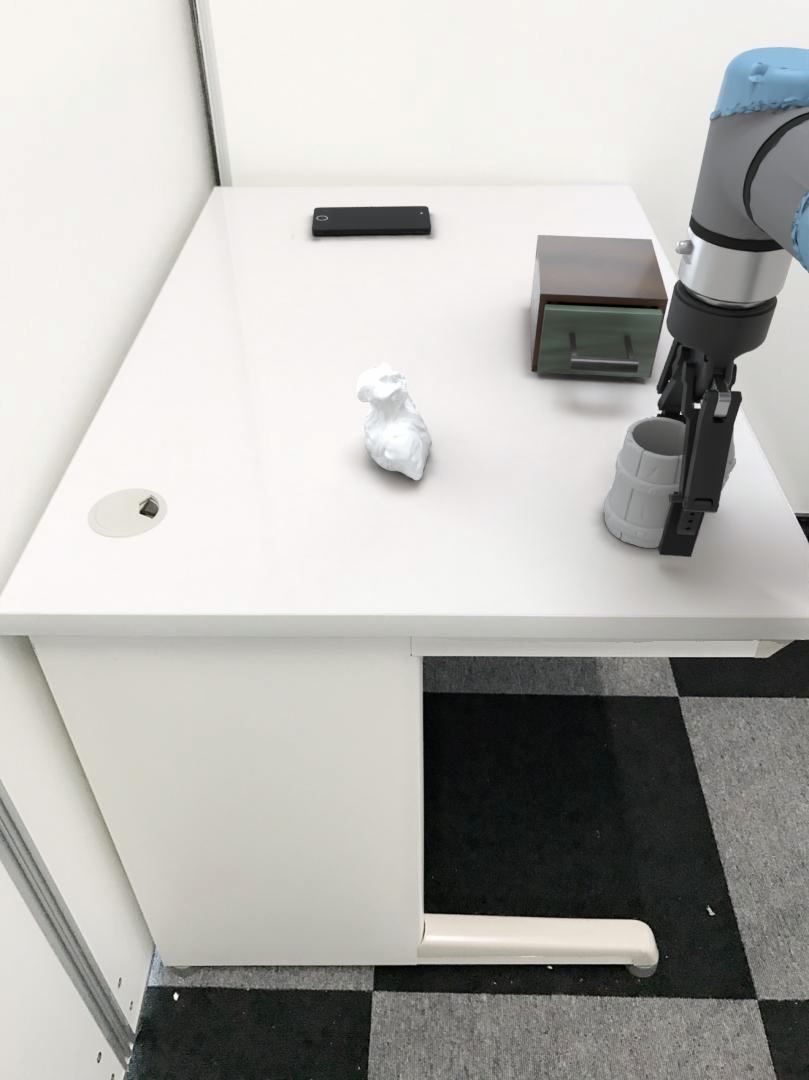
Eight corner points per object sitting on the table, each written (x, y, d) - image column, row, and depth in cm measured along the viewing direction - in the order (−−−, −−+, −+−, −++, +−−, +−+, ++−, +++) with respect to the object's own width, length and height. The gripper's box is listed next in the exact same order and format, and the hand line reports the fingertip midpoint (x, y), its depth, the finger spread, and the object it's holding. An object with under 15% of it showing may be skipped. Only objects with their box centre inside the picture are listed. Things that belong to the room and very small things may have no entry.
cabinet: (650, 377, 99) (668, 299, 92) (531, 371, 100) (540, 293, 93) (636, 312, 110) (651, 239, 104) (529, 308, 111) (537, 234, 105)
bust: (389, 440, 93) (321, 373, 87) (445, 401, 91) (379, 329, 84) (400, 511, 84) (325, 442, 78) (462, 470, 82) (389, 395, 75)
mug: (587, 505, 82) (607, 399, 74) (696, 483, 84) (727, 378, 76) (624, 558, 76) (650, 449, 68) (739, 533, 79) (778, 425, 71)
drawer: (655, 411, 92) (671, 346, 86) (538, 404, 93) (546, 340, 87) (635, 316, 107) (647, 256, 102) (535, 312, 108) (542, 252, 103)
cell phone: (314, 213, 134) (314, 207, 134) (428, 211, 135) (428, 205, 134) (311, 236, 128) (311, 229, 127) (431, 234, 128) (431, 228, 128)
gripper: (657, 222, 72) (614, 435, 87) (700, 364, 55) (637, 598, 70) (747, 226, 72) (689, 439, 87) (819, 370, 55) (730, 605, 70)
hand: (666, 510), depth 78 cm, fingers open, 11 cm apart
